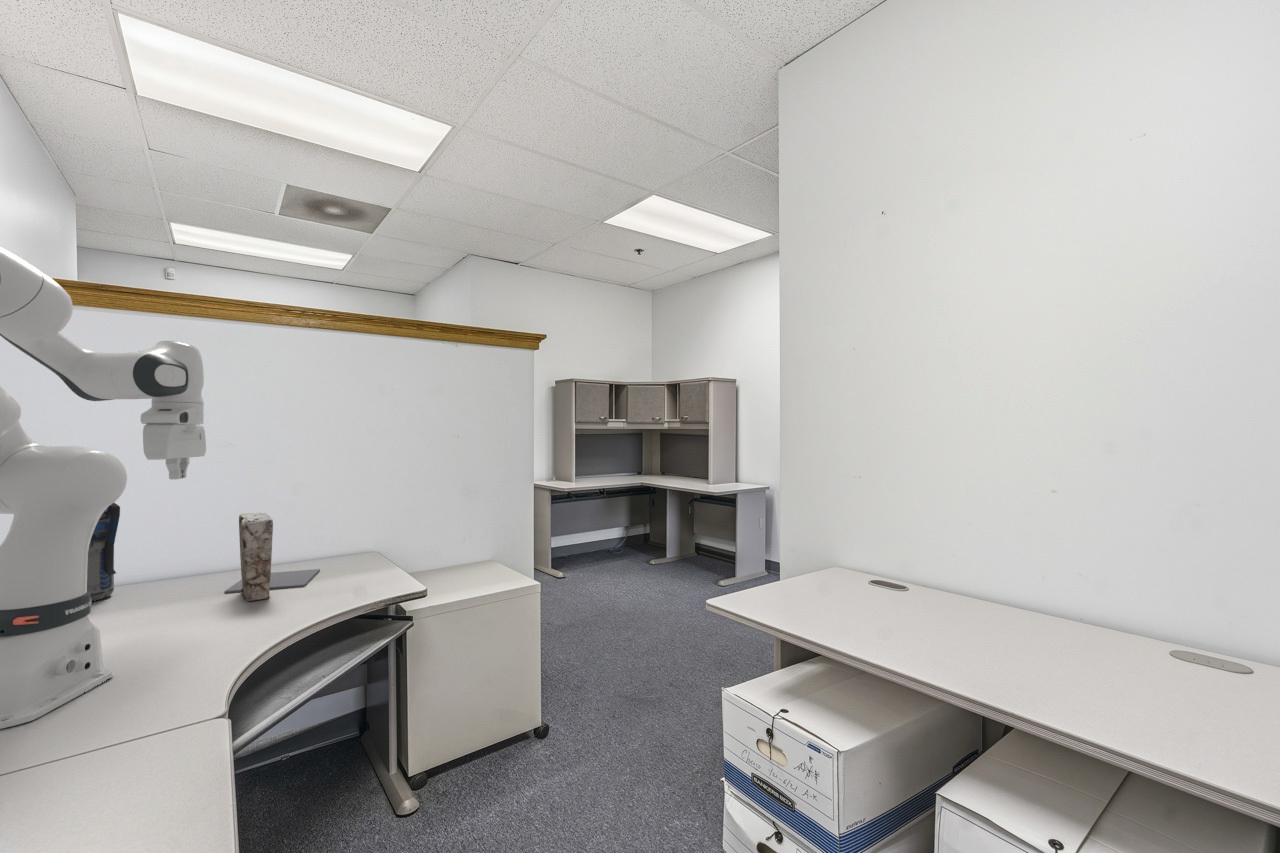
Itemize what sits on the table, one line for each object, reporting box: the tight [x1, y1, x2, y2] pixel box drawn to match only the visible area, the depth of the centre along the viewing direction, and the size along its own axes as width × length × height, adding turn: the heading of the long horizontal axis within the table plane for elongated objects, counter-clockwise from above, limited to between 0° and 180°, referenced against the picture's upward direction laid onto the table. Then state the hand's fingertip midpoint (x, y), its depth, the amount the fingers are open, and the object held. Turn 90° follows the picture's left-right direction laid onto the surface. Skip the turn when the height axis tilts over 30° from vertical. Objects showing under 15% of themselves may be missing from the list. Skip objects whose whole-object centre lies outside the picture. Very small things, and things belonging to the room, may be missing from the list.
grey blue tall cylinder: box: [87, 502, 121, 603], centre depth 136 cm, size 10×13×25 cm
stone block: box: [238, 512, 274, 602], centre depth 138 cm, size 13×7×20 cm, turn 47°
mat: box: [223, 568, 321, 594], centre depth 152 cm, size 18×18×1 cm
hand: (177, 478), depth 121 cm, fingers closed
